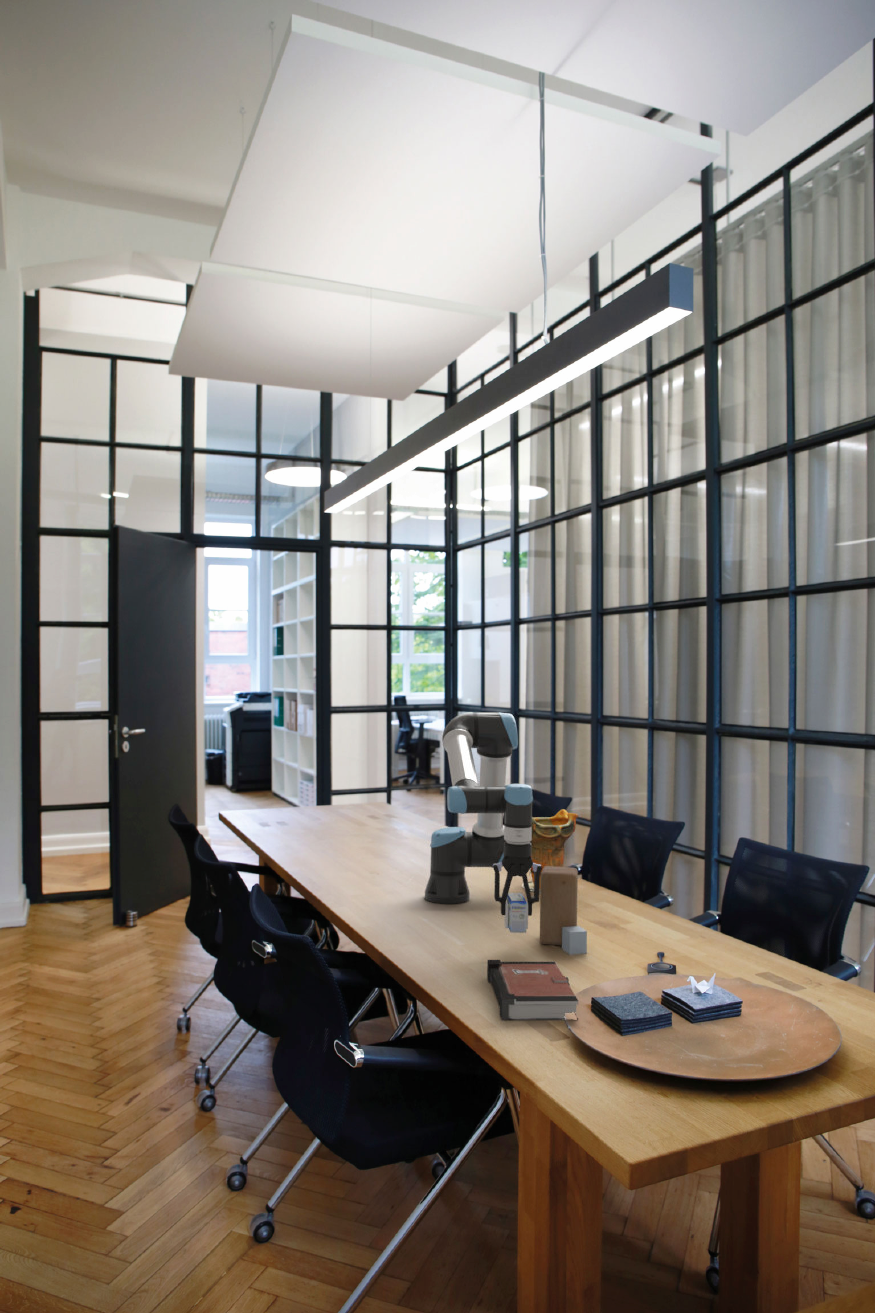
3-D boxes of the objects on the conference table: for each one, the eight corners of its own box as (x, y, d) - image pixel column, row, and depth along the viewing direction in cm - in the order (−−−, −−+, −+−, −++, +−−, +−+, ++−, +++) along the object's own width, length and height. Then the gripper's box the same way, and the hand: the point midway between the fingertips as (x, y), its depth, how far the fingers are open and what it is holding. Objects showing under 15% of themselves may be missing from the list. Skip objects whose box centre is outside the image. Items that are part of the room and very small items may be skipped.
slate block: (569, 955, 228) (569, 932, 228) (562, 949, 233) (562, 927, 233) (586, 953, 229) (586, 931, 229) (578, 948, 234) (579, 926, 234)
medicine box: (505, 924, 234) (506, 892, 234) (521, 924, 235) (522, 892, 235) (510, 933, 226) (510, 900, 226) (526, 933, 227) (527, 900, 227)
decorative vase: (501, 882, 307) (506, 805, 309) (556, 881, 316) (560, 805, 318) (530, 896, 288) (535, 813, 290) (587, 894, 297) (591, 814, 299)
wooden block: (575, 947, 234) (576, 874, 235) (539, 944, 236) (540, 872, 237) (576, 937, 244) (577, 867, 244) (542, 934, 246) (543, 865, 246)
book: (581, 1022, 183) (581, 999, 183) (501, 1022, 182) (501, 999, 182) (557, 980, 209) (557, 959, 210) (487, 980, 208) (487, 959, 208)
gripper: (486, 843, 227) (484, 931, 227) (551, 845, 227) (550, 932, 227) (484, 838, 234) (482, 922, 234) (548, 839, 234) (546, 923, 234)
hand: (516, 927), depth 230 cm, fingers closed on medicine box, 5 cm apart
